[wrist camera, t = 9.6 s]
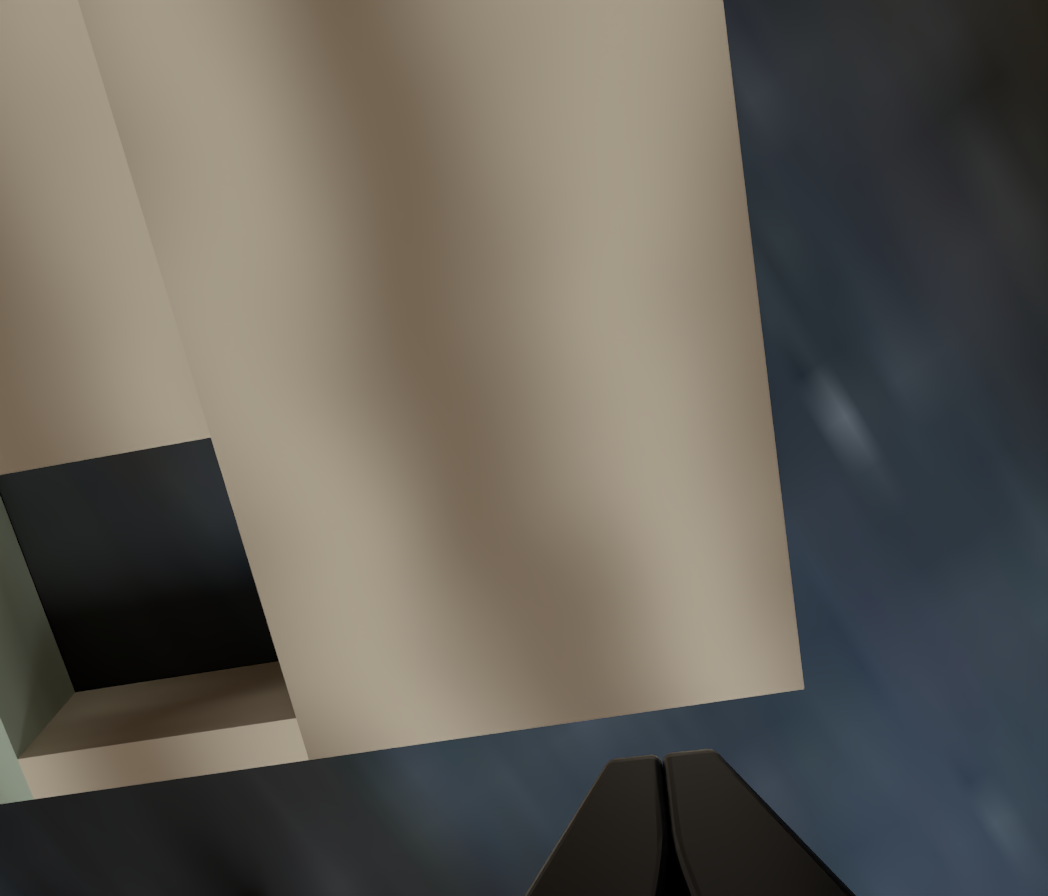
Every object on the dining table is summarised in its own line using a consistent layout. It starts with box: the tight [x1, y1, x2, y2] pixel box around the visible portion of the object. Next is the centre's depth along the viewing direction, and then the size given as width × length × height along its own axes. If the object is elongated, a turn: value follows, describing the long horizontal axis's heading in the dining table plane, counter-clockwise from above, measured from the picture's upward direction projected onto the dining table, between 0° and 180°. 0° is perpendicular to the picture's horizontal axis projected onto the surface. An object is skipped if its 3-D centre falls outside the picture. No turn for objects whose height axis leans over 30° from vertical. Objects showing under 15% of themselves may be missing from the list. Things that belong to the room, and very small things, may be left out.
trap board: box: [0, 0, 804, 804], centre depth 18 cm, size 23×23×2 cm
